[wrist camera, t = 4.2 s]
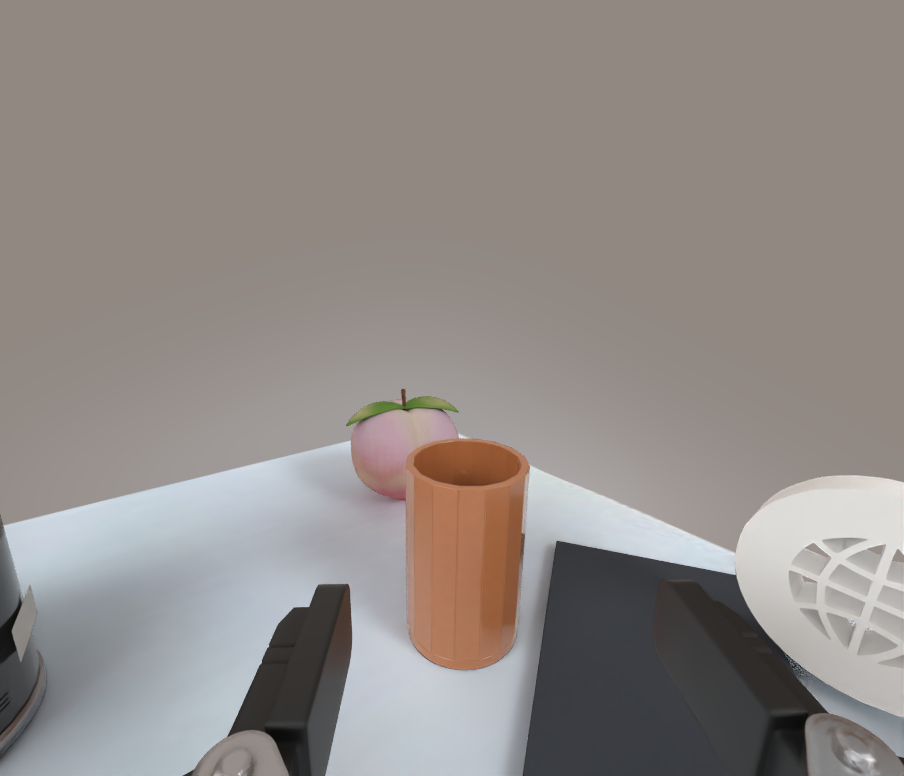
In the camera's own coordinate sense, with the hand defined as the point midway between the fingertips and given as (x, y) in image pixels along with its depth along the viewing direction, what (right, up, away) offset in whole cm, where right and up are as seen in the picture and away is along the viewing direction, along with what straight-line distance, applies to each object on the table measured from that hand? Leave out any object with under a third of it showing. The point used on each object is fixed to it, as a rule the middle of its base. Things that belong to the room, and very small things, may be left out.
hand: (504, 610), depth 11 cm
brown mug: (-1, -7, +15) cm, 17 cm away
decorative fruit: (-6, -4, +27) cm, 28 cm away
